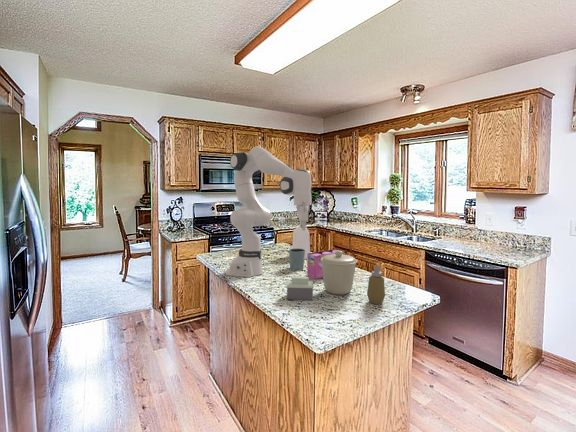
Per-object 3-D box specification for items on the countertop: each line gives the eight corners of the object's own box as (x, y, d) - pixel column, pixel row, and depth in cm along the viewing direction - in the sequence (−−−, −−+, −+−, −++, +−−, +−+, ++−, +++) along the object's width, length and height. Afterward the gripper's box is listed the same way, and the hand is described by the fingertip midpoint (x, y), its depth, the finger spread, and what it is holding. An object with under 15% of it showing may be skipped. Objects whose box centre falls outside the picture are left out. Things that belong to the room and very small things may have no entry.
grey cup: (287, 269, 209) (287, 251, 207) (290, 265, 218) (291, 247, 217) (303, 271, 206) (303, 252, 205) (306, 266, 216) (306, 248, 215)
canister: (318, 285, 179) (319, 246, 176) (353, 286, 178) (354, 247, 176) (321, 297, 161) (322, 254, 158) (359, 298, 160) (360, 254, 158)
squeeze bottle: (364, 299, 158) (365, 262, 156) (381, 299, 159) (382, 262, 157) (370, 306, 150) (371, 266, 148) (387, 305, 151) (389, 266, 149)
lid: (286, 289, 156) (286, 279, 156) (287, 284, 164) (287, 275, 163) (313, 289, 156) (313, 280, 155) (313, 284, 163) (313, 275, 163)
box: (287, 299, 157) (287, 287, 157) (287, 294, 164) (287, 282, 164) (312, 300, 157) (312, 288, 156) (312, 295, 164) (312, 283, 163)
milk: (291, 255, 247) (292, 220, 244) (307, 255, 248) (307, 220, 246) (294, 259, 235) (294, 222, 232) (310, 259, 237) (310, 222, 234)
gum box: (337, 269, 210) (337, 248, 208) (346, 272, 203) (346, 250, 202) (306, 275, 196) (307, 253, 195) (315, 279, 190) (315, 255, 188)
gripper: (311, 202, 157) (311, 231, 158) (307, 200, 177) (307, 226, 179) (297, 202, 157) (298, 231, 158) (295, 200, 177) (295, 226, 178)
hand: (303, 229), depth 168 cm, fingers open, 8 cm apart
